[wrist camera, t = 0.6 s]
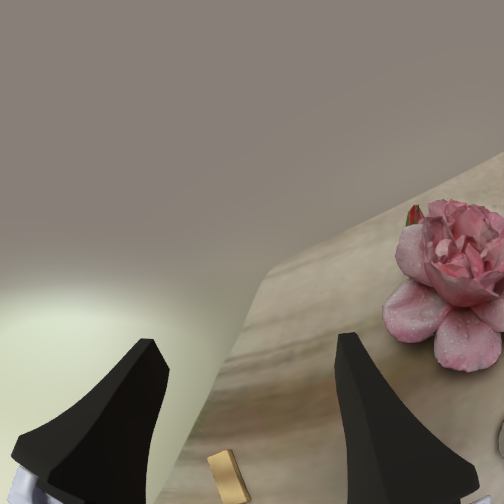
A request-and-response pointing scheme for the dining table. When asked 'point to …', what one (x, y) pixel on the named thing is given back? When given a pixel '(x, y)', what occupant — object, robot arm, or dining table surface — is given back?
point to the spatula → (228, 478)
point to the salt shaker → (501, 441)
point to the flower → (451, 284)
